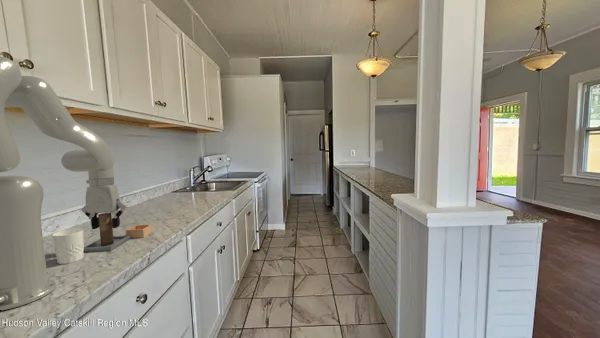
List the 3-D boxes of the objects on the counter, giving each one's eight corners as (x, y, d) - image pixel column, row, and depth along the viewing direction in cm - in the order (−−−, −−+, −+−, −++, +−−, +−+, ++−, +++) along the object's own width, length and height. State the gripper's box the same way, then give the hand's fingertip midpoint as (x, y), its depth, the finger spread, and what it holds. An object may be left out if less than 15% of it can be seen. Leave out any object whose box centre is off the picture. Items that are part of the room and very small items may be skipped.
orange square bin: (143, 238, 105) (143, 229, 105) (126, 239, 104) (125, 230, 104) (152, 233, 112) (151, 224, 112) (135, 233, 111) (135, 225, 111)
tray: (111, 252, 92) (110, 246, 92) (82, 253, 91) (81, 248, 91) (130, 240, 104) (129, 235, 103) (104, 241, 103) (104, 236, 102)
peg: (109, 245, 95) (106, 214, 95) (98, 246, 95) (95, 215, 94) (116, 241, 99) (113, 212, 99) (105, 242, 99) (102, 212, 98)
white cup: (67, 266, 81) (64, 236, 80) (48, 264, 83) (45, 235, 82) (91, 255, 89) (89, 228, 88) (74, 254, 90) (71, 227, 90)
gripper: (69, 184, 90) (74, 232, 92) (119, 183, 92) (123, 229, 94) (85, 182, 98) (89, 225, 99) (131, 180, 100) (134, 223, 101)
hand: (106, 227), depth 97 cm, fingers open, 6 cm apart
